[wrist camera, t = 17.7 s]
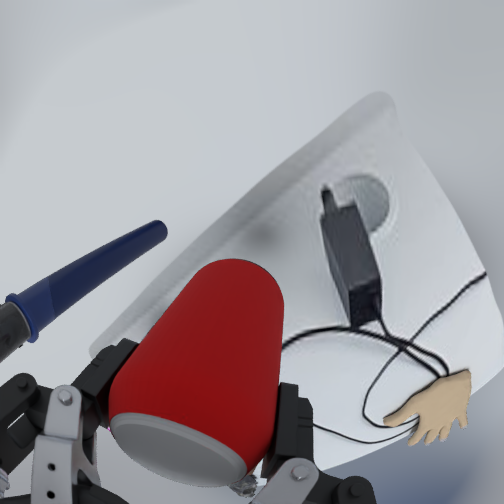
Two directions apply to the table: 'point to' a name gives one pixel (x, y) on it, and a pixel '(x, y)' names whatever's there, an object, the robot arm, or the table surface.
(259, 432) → the beverage can
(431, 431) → the hand model
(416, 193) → the table surface
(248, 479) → the rock
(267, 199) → the table surface
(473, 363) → the table surface
